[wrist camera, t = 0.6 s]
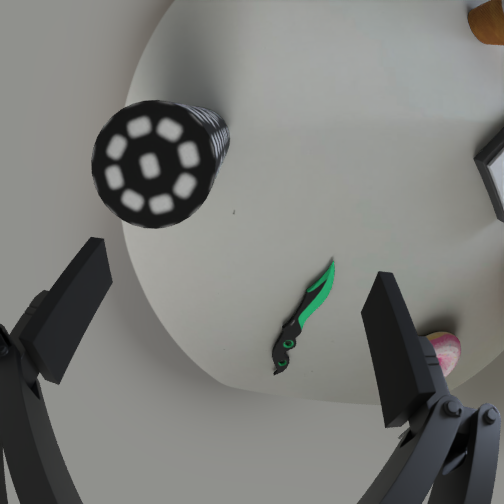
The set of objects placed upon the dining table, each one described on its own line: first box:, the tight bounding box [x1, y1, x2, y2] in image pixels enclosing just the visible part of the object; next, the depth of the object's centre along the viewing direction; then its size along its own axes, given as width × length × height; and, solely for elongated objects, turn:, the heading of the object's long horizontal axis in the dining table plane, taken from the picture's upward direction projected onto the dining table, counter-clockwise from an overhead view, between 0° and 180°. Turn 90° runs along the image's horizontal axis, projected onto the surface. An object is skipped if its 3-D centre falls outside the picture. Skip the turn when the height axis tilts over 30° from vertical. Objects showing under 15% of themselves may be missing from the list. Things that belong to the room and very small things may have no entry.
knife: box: [272, 261, 335, 375], centre depth 48 cm, size 23×1×5 cm
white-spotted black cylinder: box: [91, 100, 230, 229], centre depth 27 cm, size 8×8×20 cm
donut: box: [425, 332, 461, 377], centre depth 51 cm, size 14×13×5 cm
